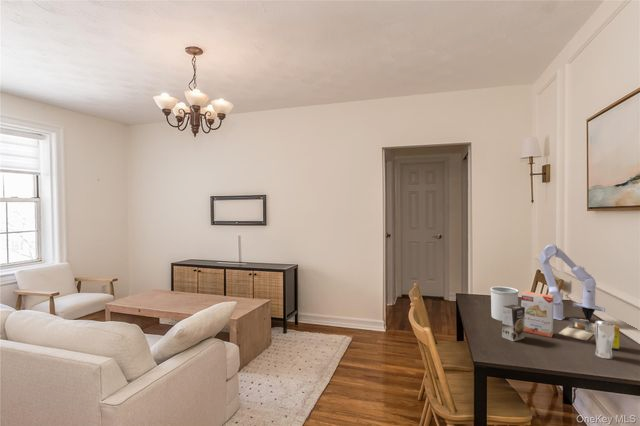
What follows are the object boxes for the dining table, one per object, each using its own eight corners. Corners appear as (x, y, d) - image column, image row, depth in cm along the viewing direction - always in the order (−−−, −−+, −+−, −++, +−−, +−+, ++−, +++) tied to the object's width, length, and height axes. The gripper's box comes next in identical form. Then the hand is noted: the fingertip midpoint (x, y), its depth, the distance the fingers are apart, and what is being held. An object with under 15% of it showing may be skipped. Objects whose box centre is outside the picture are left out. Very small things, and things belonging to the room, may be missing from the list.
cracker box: (520, 331, 180) (521, 292, 180) (522, 328, 185) (523, 290, 185) (551, 338, 171) (552, 297, 171) (553, 334, 176) (554, 295, 175)
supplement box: (619, 350, 157) (620, 327, 157) (604, 349, 159) (605, 326, 158) (611, 345, 163) (611, 322, 163) (597, 344, 164) (597, 321, 164)
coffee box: (513, 342, 166) (514, 309, 166) (501, 337, 172) (502, 306, 172) (524, 338, 171) (525, 307, 170) (512, 334, 176) (513, 303, 176)
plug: (582, 322, 194) (583, 316, 194) (591, 324, 191) (591, 318, 191) (577, 326, 187) (577, 320, 187) (586, 328, 184) (586, 322, 184)
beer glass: (589, 352, 154) (590, 320, 154) (603, 352, 155) (604, 320, 155) (603, 359, 148) (604, 326, 147) (618, 359, 148) (619, 325, 148)
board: (558, 333, 177) (558, 333, 177) (576, 320, 199) (576, 319, 199) (586, 340, 168) (586, 340, 168) (602, 325, 189) (602, 325, 189)
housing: (568, 327, 185) (568, 319, 185) (570, 326, 188) (571, 317, 188) (589, 332, 178) (589, 323, 178) (591, 330, 181) (591, 321, 181)
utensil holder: (491, 320, 197) (491, 290, 197) (488, 312, 211) (489, 285, 211) (520, 323, 192) (520, 293, 191) (515, 315, 206) (516, 287, 205)
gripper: (571, 296, 197) (570, 319, 197) (603, 302, 185) (602, 326, 186) (575, 294, 201) (574, 316, 201) (606, 299, 190) (605, 323, 190)
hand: (588, 321), depth 194 cm, fingers closed
